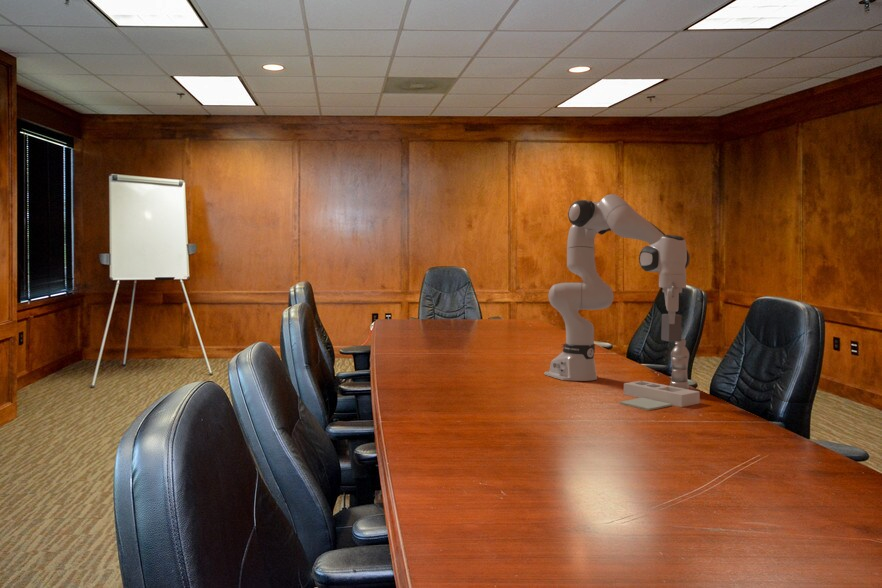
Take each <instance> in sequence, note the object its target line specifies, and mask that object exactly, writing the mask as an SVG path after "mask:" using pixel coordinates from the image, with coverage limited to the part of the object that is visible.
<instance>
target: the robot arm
mask: <svg viewBox="0 0 882 588" xmlns="http://www.w3.org/2000/svg"><path fill="white" fill-rule="evenodd" d="M567 216H568V217H567V218H568V220H569V222H570V223H571V226H570V227H569V230H568V235H567V241H566V267H567V269H568V271H569V272H571V273H573V274H574V275H576V276H578V277H580V278H581V280H582V282H560V283H555V284H552V286H551V287H550V289H549V291H548V294H547V296H548V301H549V304H550V305H551V306H552V307H553V308H554V309H555V310H556V311H557V312H559V314H560V316H561V317H562V320H563V322H564V324H565V325H564V326H565V343H564V344H563V343H562V344H561V348H562V352H560V353H559V354H558V355H557V356H555V357H554V358H553V359H552V360H550V361H551V362H550V364H549V366H550V367H549V370H546V371H545V372H543V374H544V375H545V376H547V377H551V378H555V379H558V380H561V381H576V382H577V381H578V382H579V381H580V382H583V381H584V382H585V381H586V382H589V381H595V380H598V376H597V371H596V370H597V369H596V363H595V361H596V360H595V352H596V350H595V349H596V347H595V346H596V345H595V343H594V342H595V327H594V324H593V323H592V322H591V320H589V319H586V317H583V316H581V315H580V314H579V311H581V310H586V311H589V310H590V311H598V310H603V309H604V310H605V309H608V308H609V307H611V305H612V304H613V301H614V291H613V290H612V288H611V286H610V285H609V284H607V282H605V281H604V280H603V279H602V278H601V277H600V275H599V273H598V271H597V267H596V258H595V257H596V255H595V238H596V236H597V234H599V235H600V236H601V235H604V234H606V233H607V232H611V231H612V232H613V233H614V234H615V235H617V236H619V237H621V238H625V239H632V240H637V241H642V242H645V243H647V244H649V245H645V246H644V247H642V249H641V250H640V251H639V255H638V262H639V266H640V268H641V269H642V270H643V271H644V272H649V273H658V287H659V288H662V293H663V294H664V301H665V302H664V303H665V304H664V305H665V307H666V308H665V309H666V311H667V314H669V324H674V323H675V314H676V312H678V311H679V306H680V305H679V302H680V301H679V299H680V297H679V296H680V295H679V294H681V293H683V289H685V288H686V287H687V270H686V269H687V268H688V265H689V264H690V260H691V259H690V258H691V257H690V253H689V251H688V248H687V243H686V240H685V238H684V237H683V236H681V235H677V234H676V235H674V234H665V233H664V231H662V230H661V229H660V228H659V227H657V226H656V225H654V224H653V223H652V222H651V221H649V220H647V219H646V218H644V217H643V216H642V215H641V214H639V213H638V212H637V211H636V210H635V209H634V208H633V207H632V206H631V205H630V204H629V203H628V202H627V201H626V200H625V199H623V198H622V197H621V196H619V195H617V194H614V193H610V194H607V195H604V196H603V197H602V198H601V199H600V201H591V200H588V199H587V200H586V199H585V200H584V199H583V200H582V199H581V200H580V199H578V200H575V201H574V202H573V203H572V204H571V205H570V207H569V209H568V213H567Z"/></svg>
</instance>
